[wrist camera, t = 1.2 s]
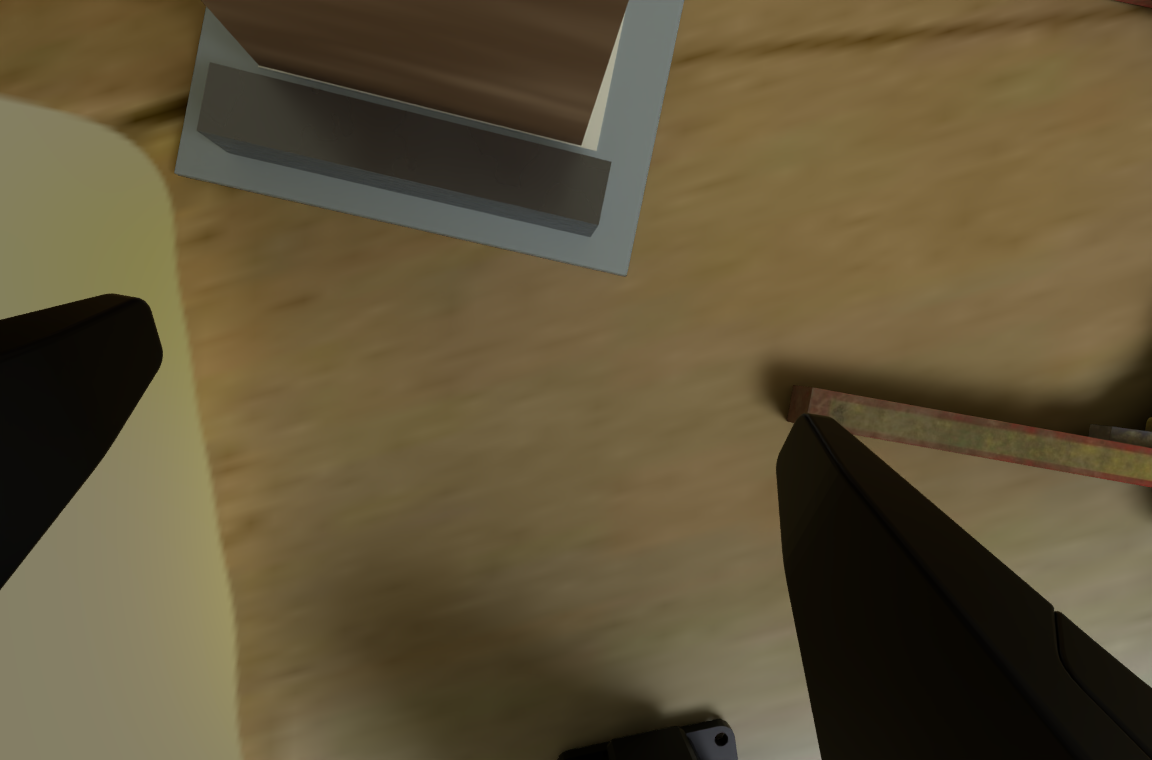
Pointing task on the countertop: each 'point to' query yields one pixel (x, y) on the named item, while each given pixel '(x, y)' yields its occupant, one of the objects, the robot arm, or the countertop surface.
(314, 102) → the base
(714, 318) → the countertop surface
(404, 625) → the countertop surface
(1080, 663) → the robot arm
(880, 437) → the miniature gate
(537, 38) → the fence panel
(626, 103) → the card
